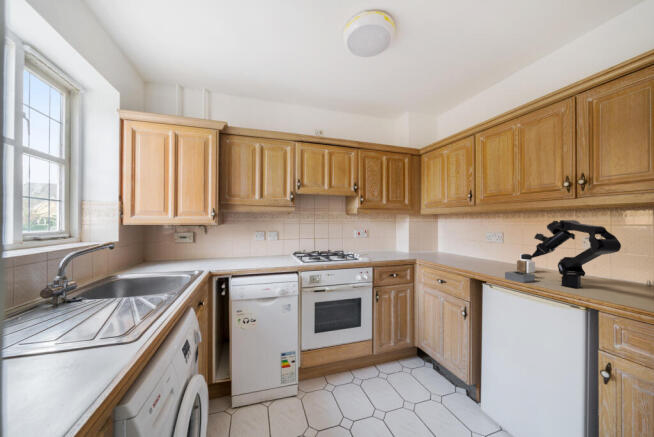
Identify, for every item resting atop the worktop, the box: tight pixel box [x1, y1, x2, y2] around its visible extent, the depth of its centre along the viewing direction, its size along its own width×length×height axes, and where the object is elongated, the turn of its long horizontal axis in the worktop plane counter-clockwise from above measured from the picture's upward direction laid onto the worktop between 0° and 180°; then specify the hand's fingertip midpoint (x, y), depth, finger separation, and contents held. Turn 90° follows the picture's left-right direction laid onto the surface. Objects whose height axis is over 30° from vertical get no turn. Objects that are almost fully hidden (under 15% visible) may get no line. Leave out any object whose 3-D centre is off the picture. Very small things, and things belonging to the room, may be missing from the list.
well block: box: [504, 270, 535, 284], centre depth 146 cm, size 10×10×4 cm
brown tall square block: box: [516, 259, 527, 273], centre depth 153 cm, size 4×4×10 cm
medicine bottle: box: [520, 253, 536, 274], centre depth 169 cm, size 7×7×12 cm
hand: (533, 256), depth 149 cm, fingers open, 9 cm apart
